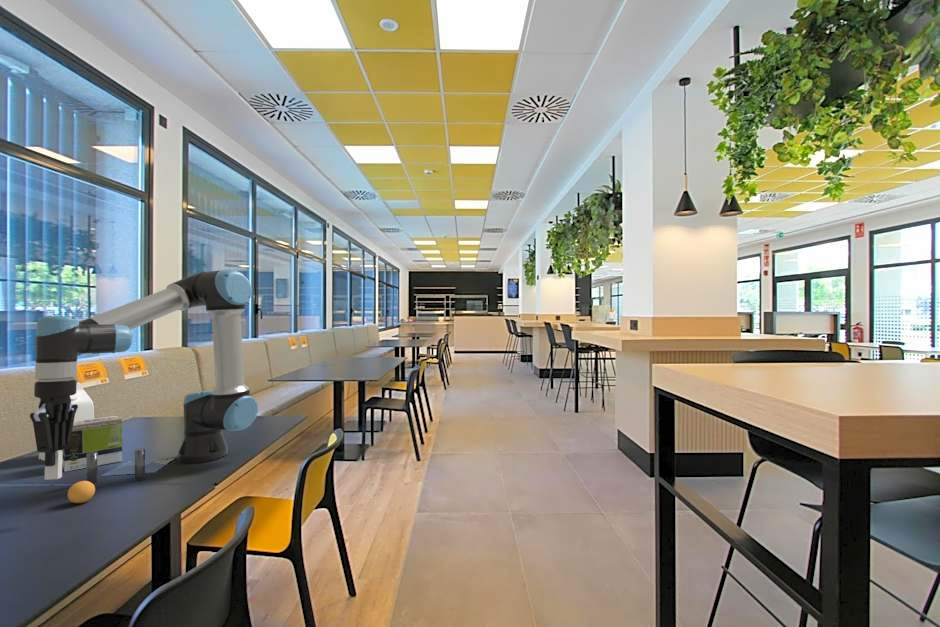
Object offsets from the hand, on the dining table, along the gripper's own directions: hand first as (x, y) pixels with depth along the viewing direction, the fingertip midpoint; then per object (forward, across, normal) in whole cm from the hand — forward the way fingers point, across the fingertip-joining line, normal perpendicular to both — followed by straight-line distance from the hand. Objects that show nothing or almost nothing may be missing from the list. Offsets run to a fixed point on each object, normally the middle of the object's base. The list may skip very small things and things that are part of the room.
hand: (53, 478), depth 108 cm
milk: (+10, -60, -32) cm, 69 cm away
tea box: (+10, -48, -18) cm, 52 cm away
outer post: (+10, -26, -6) cm, 29 cm away
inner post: (+9, -26, +6) cm, 29 cm away
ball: (+7, -10, 0) cm, 12 cm away
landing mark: (+9, -40, 0) cm, 41 cm away
